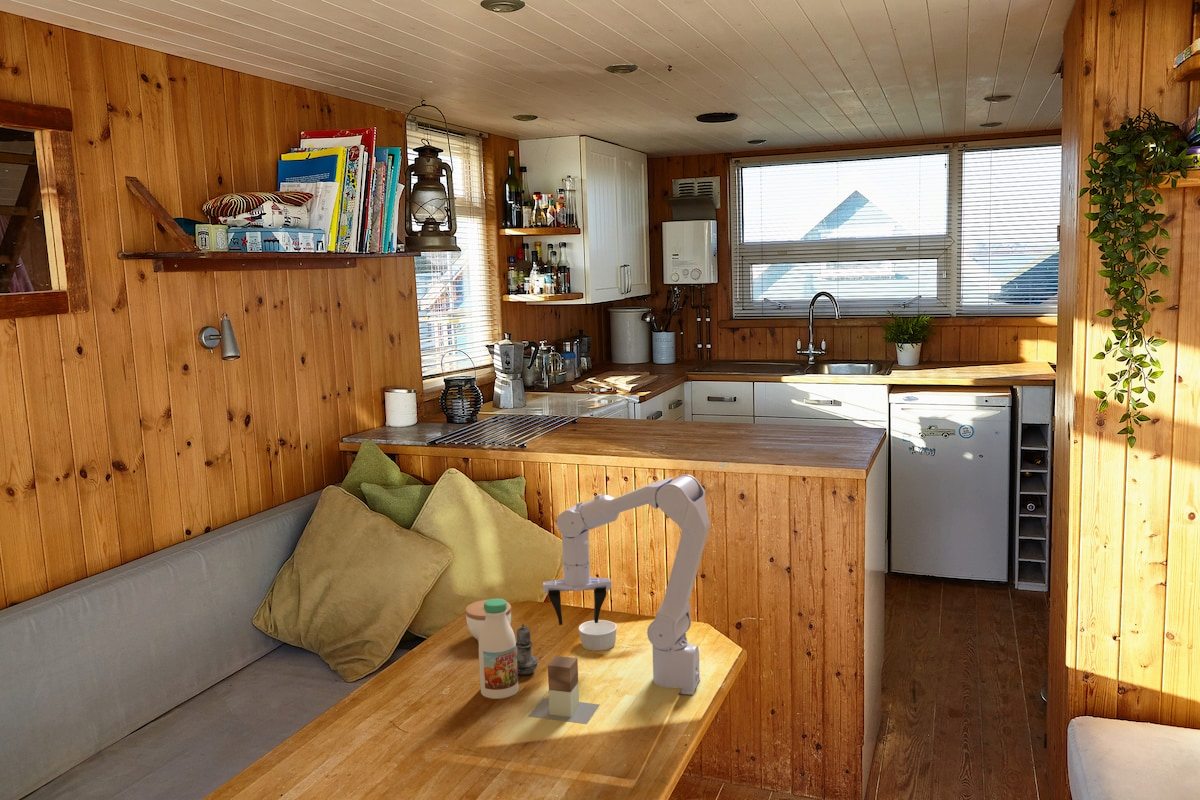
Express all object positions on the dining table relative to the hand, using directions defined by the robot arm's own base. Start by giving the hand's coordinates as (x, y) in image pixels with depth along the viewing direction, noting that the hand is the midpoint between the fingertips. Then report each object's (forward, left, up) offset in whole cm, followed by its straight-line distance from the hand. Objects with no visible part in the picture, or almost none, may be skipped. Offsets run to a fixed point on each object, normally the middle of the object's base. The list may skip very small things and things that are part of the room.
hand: (578, 622), depth 203 cm
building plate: (-4, +21, -10) cm, 24 cm away
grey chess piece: (+10, +7, -11) cm, 16 cm away
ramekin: (0, -13, -11) cm, 17 cm away
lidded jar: (+26, -10, -11) cm, 30 cm away
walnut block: (-4, +21, -4) cm, 22 cm away
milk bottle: (+12, +16, -11) cm, 23 cm away
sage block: (-4, +21, -9) cm, 23 cm away
